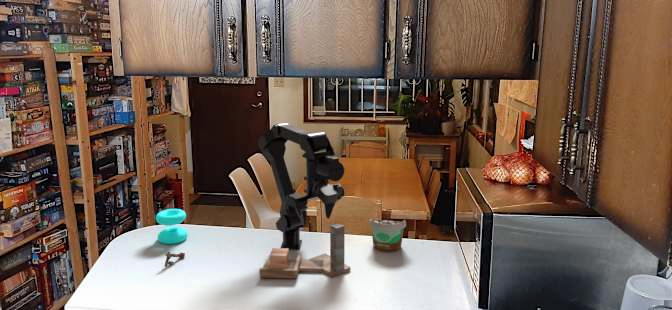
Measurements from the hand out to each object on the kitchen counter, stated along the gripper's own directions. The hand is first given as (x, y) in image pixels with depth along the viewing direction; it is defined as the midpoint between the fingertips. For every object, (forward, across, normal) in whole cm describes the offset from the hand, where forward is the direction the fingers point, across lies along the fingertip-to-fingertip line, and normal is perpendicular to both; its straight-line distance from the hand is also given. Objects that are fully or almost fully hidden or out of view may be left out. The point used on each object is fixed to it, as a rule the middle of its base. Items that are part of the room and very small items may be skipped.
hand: (316, 221), depth 157 cm
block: (+12, -13, +1) cm, 18 cm away
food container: (+13, +22, -8) cm, 27 cm away
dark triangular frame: (+13, -35, +27) cm, 46 cm away
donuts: (+13, -29, +45) cm, 55 cm away
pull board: (+13, -9, -2) cm, 15 cm away
